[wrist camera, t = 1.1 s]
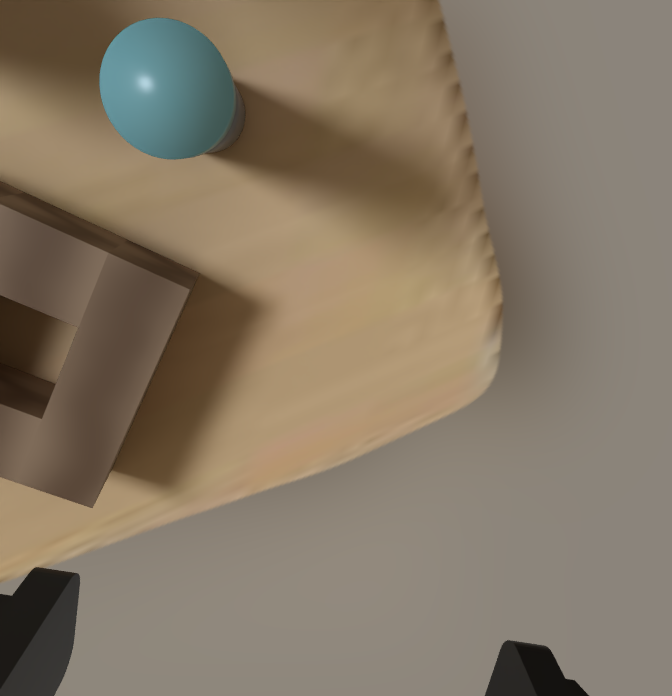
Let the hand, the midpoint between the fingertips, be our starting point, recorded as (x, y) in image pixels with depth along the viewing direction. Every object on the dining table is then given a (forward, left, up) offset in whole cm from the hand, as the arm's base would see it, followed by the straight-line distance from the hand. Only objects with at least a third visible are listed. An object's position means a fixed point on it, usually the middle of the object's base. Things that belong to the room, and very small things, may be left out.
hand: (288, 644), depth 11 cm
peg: (-8, +8, -25) cm, 27 cm away
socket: (-12, -7, -24) cm, 28 cm away
